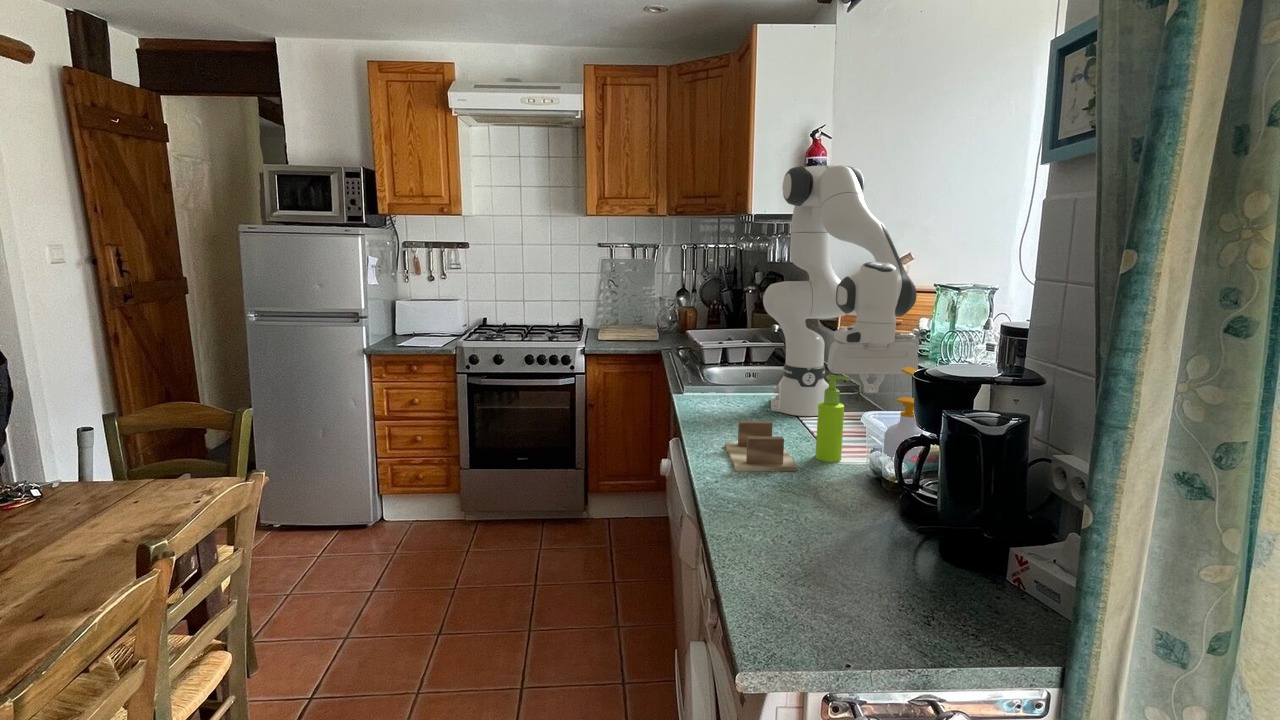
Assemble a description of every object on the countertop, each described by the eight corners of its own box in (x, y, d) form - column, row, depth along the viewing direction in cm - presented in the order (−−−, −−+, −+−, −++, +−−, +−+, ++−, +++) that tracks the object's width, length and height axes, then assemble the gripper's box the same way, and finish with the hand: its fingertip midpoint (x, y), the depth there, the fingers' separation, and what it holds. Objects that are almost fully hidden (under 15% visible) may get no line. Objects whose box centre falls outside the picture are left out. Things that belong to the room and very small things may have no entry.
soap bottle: (893, 469, 153) (900, 362, 149) (933, 479, 147) (942, 368, 142) (874, 478, 147) (882, 368, 142) (915, 489, 141) (925, 374, 136)
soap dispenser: (846, 463, 157) (851, 379, 153) (816, 461, 158) (820, 377, 155) (844, 455, 163) (849, 374, 159) (814, 453, 164) (819, 372, 160)
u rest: (724, 446, 169) (725, 419, 168) (780, 446, 169) (781, 419, 168) (735, 470, 151) (736, 441, 150) (797, 471, 152) (799, 441, 150)
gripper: (914, 331, 158) (909, 389, 161) (827, 331, 158) (824, 389, 161) (925, 335, 152) (920, 395, 155) (835, 335, 152) (831, 395, 155)
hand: (870, 392), depth 158 cm, fingers closed
